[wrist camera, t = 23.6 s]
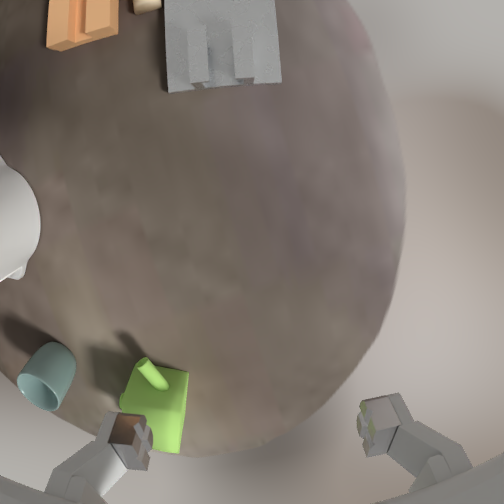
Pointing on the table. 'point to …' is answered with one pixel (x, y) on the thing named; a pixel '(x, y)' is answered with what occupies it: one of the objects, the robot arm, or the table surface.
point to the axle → (146, 6)
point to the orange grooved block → (80, 22)
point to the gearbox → (158, 402)
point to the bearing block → (221, 44)
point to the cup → (47, 376)
